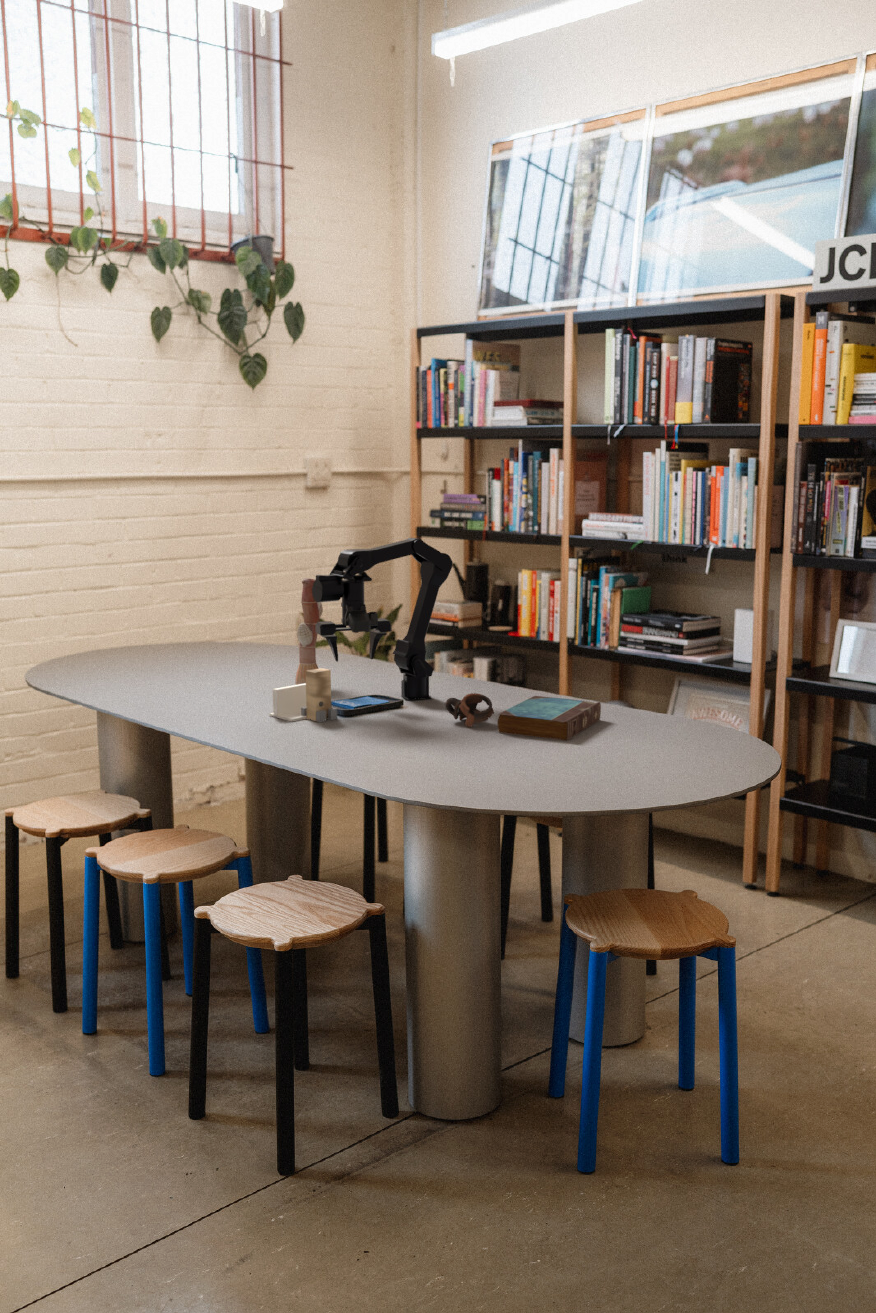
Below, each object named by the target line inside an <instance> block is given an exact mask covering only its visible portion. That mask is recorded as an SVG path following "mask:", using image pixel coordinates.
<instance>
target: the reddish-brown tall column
mask: <svg viewBox="0 0 876 1313" xmlns="http://www.w3.org/2000/svg"><path fill="white" fill-rule="evenodd" d="M315 580H316V579H314V578H307V577H306V578H303V579H302V581H301V583H302V591H301V592H302V593H301V606H302V607H301V608H302V614H303V622H301V623H299V625H298V627H297V630H296V631H297V632H296V637H297V639H298V642H299V643H298V651H299V652H298V653H299V656H298V658H299V664H298V667H297V669H296V674H295V681H294V682H295V684H294V685H298V684H304V683H306V671H307V670H313V669H319V668H320V667H319V666H318V663H317V659H316V658H317V657H316V654H317V652H316V644H317V640H318V635H319V634H317V633H316V628H315V626H316V624H317V622H321V620H320V618H321V617H322V615H323V612H324V611H323V604H322V603H323V602H316V601H315V600H314V598H313V595H312V587H313V583H314V581H315Z"/></svg>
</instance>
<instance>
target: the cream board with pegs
mask: <svg viewBox="0 0 876 1313" xmlns="http://www.w3.org/2000/svg"><path fill="white" fill-rule="evenodd" d="M272 707H273V708H272V709H273V711H272V712H270V713H268V716H269V715H270V716H269V717H272V716H273V718H277V719H281V720H284V721H289V722H296V721H302V720H306V719H307V709H306V683H304V684H298V685H295V684H292V685H287V686H282V687H277V688H272ZM330 719H331V721H332V719H333V720H337V719H338V708H337V707H331V709H328V719H326V711H324V710H321V711H316V721H315V722H316V723H317V722H318V723H322V721H323V722H326V721H327V720H330ZM307 720H308V719H307Z"/></svg>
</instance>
